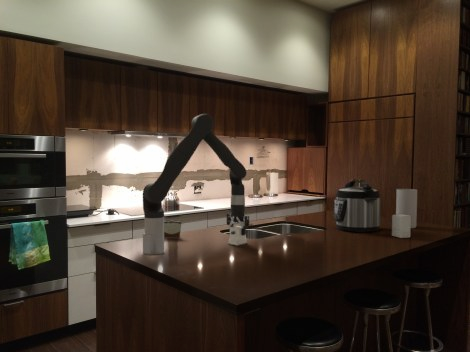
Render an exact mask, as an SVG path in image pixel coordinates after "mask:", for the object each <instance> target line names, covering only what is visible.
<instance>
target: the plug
mask: <svg viewBox="0 0 470 352" xmlns="http://www.w3.org/2000/svg"><path fill="white" fill-rule="evenodd" d="M229 238H230V239H235V240H241V239H245V238H247V233H246V234H245V235H242V227H241V225H234V226H233V227H230V226H229Z"/></svg>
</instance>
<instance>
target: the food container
mask: <svg viewBox="0 0 470 352" xmlns="http://www.w3.org/2000/svg"><path fill="white" fill-rule="evenodd" d="M182 224H183V222H182V219H179V218H168V219H167V218H166V219H165V218H164V239H180V238H181V231H182V230H181V229H182Z"/></svg>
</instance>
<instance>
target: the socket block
mask: <svg viewBox="0 0 470 352" xmlns="http://www.w3.org/2000/svg"><path fill="white" fill-rule="evenodd" d="M247 238H248V237H246V238H245V239H241V240H235V239H230V237H229V238H228V245H229V244H230V246H234V245H235V247H238V246H239V247H240V246H242V245H246V243H247V244H248V239H247Z"/></svg>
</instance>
